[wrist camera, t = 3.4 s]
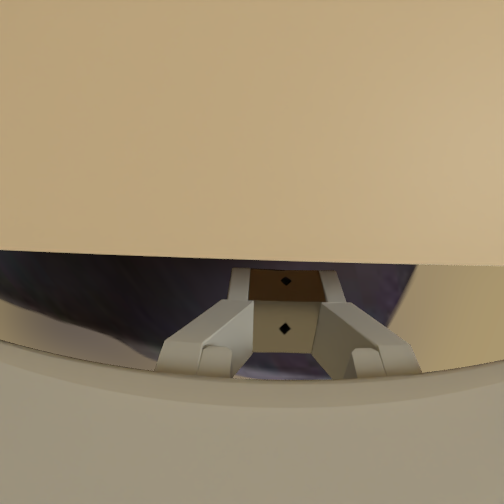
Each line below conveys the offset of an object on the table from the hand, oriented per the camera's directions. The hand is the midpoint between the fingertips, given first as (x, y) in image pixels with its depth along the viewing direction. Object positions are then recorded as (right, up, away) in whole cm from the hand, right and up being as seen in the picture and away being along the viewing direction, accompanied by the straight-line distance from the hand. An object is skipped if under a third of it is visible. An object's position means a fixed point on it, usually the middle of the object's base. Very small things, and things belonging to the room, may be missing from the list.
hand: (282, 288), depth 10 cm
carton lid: (0, +9, -4) cm, 10 cm away
